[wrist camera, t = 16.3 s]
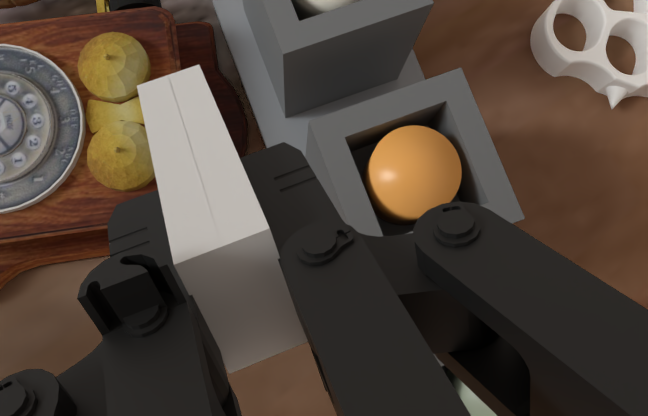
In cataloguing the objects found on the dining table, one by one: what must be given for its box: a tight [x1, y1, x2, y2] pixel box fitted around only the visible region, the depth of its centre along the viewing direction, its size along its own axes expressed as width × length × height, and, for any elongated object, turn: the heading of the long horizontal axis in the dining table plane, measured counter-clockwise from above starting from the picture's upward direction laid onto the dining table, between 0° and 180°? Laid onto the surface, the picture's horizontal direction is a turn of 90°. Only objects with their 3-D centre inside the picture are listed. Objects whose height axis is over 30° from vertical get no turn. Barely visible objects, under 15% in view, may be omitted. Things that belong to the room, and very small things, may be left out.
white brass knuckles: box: [530, 0, 648, 109], centre depth 49 cm, size 3×18×15 cm
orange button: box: [362, 125, 462, 225], centre depth 35 cm, size 5×5×4 cm
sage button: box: [446, 369, 497, 416], centre depth 34 cm, size 5×5×4 cm
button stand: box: [212, 0, 525, 374], centre depth 40 cm, size 38×13×14 cm, turn 21°
